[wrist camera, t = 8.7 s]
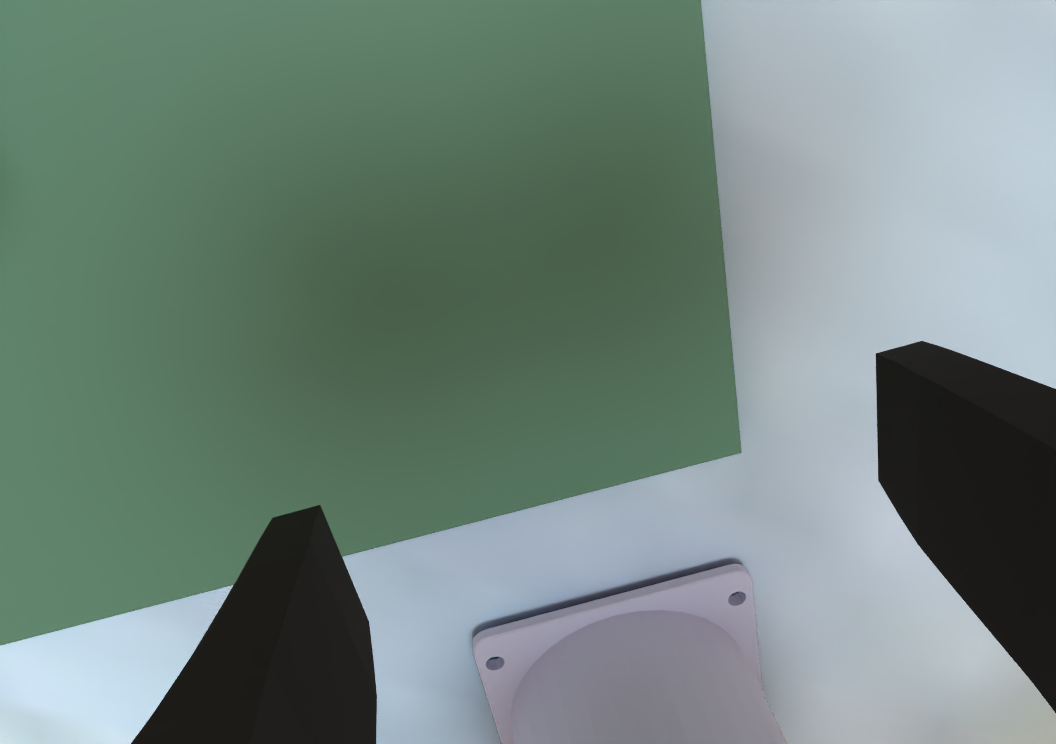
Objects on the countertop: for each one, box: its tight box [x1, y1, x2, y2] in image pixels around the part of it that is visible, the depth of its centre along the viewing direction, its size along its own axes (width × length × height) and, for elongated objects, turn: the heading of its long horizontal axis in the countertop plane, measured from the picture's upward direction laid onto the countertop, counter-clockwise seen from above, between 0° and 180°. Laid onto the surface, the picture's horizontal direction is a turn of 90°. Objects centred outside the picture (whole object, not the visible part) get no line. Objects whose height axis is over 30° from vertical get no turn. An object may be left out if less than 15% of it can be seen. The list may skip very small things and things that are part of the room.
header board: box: [0, 0, 741, 645], centre depth 17 cm, size 20×24×3 cm
